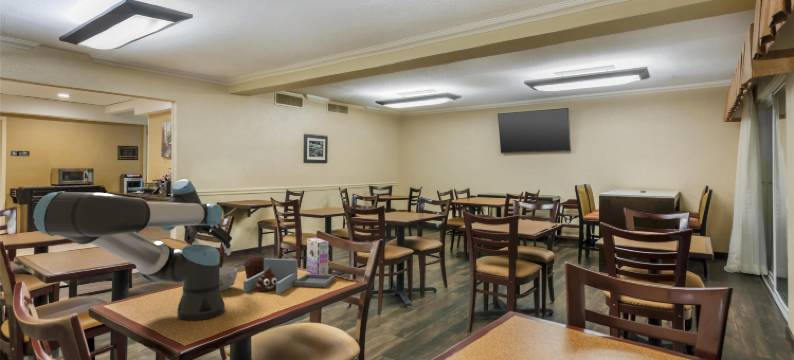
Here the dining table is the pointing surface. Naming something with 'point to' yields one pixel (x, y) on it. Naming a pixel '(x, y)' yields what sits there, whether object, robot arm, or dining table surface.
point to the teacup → (226, 277)
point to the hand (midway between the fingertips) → (214, 252)
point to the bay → (276, 274)
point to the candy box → (318, 256)
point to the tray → (314, 280)
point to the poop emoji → (266, 281)
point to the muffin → (254, 265)
